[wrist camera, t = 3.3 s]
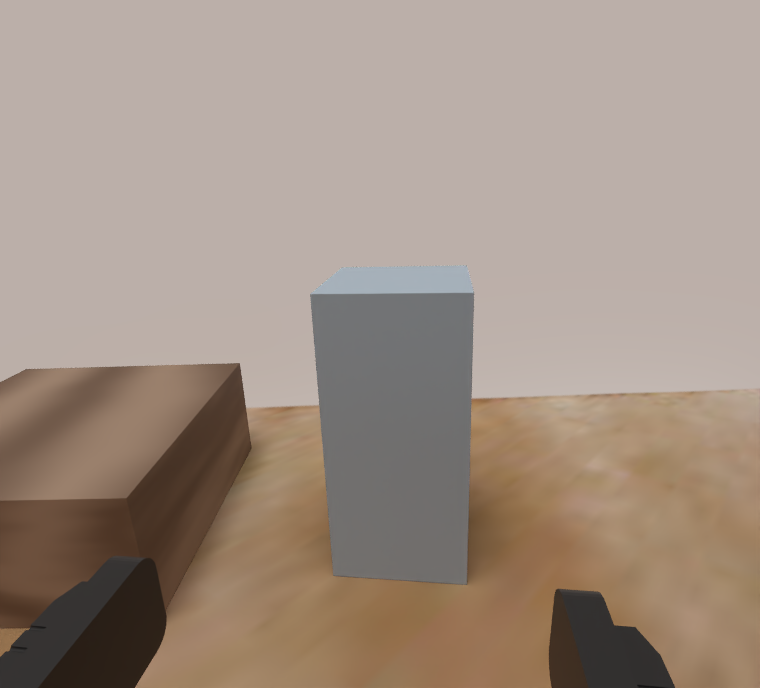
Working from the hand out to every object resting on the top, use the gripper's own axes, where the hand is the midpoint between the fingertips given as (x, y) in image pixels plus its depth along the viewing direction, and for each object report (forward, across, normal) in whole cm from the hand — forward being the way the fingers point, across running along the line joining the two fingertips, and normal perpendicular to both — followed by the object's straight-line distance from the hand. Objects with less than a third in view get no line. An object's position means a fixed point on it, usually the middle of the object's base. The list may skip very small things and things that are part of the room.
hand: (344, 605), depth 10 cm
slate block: (+11, 0, +8) cm, 14 cm away
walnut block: (+11, +16, +8) cm, 21 cm away
